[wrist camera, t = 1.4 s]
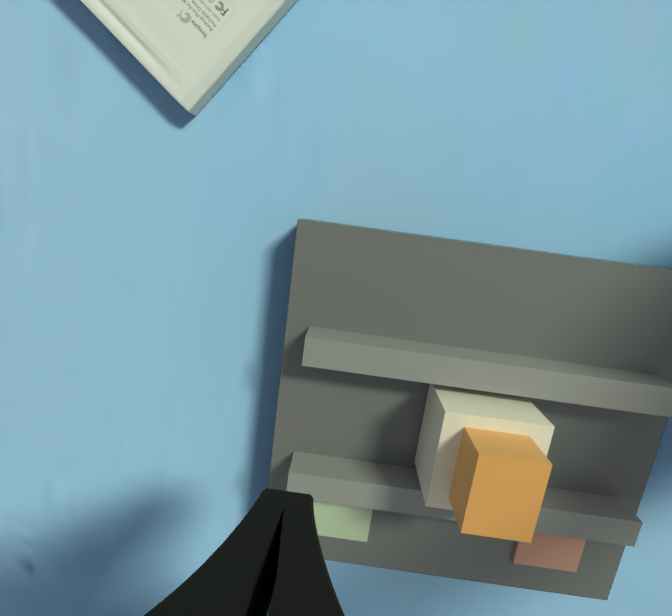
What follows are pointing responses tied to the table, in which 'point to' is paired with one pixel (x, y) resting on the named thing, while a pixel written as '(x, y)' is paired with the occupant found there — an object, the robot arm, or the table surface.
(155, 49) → the external hard drive
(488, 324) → the breaker panel
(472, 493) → the lever
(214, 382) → the table surface
